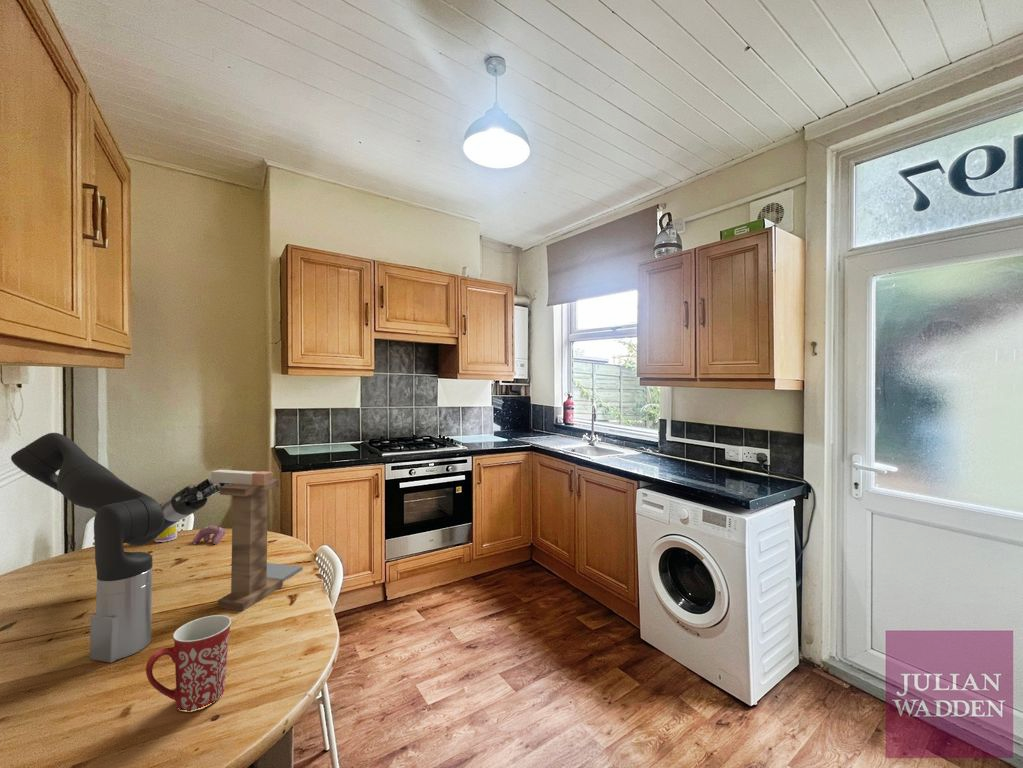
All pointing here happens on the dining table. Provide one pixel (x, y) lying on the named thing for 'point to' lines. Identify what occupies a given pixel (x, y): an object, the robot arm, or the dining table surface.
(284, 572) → the board
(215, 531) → the video game controller
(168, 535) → the supplement bottle
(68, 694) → the dining table surface
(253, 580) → the stand
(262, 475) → the block
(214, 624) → the mug
